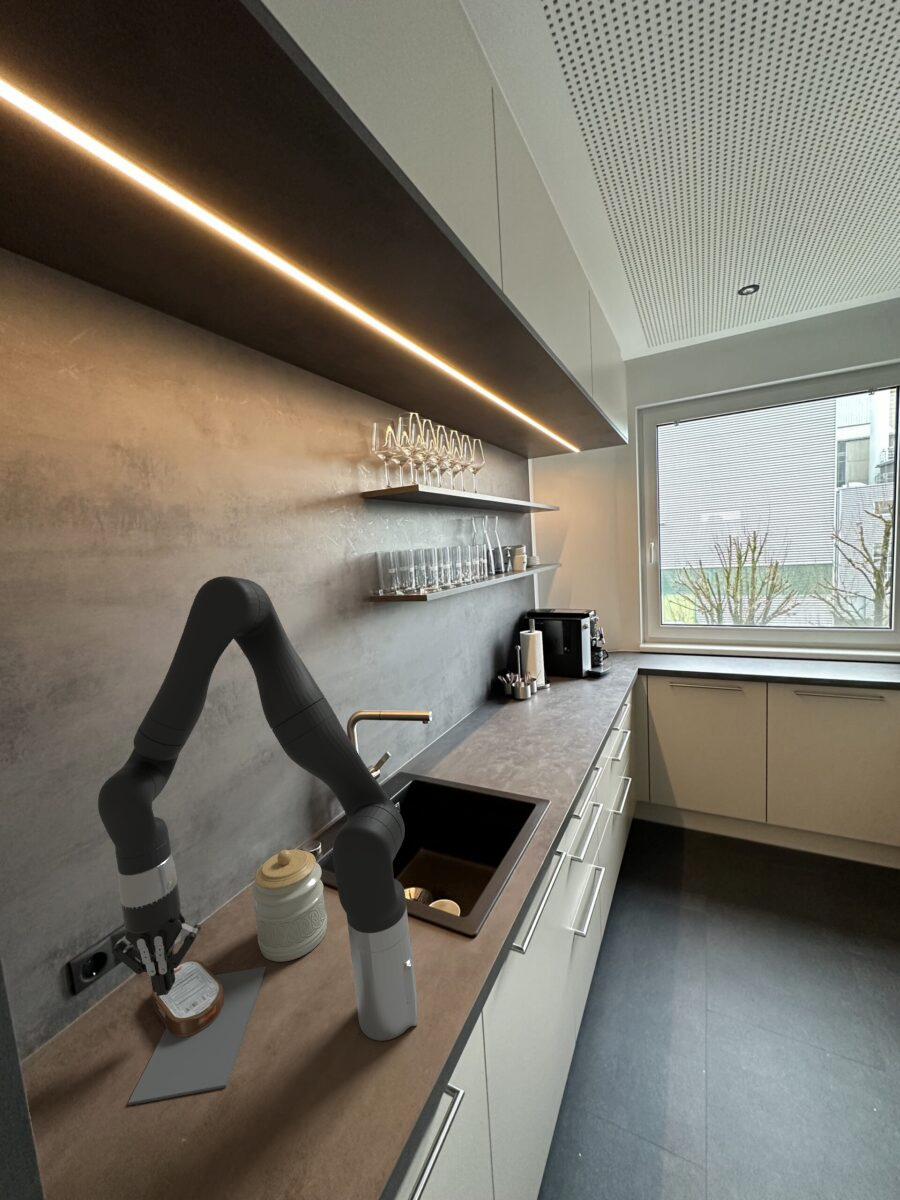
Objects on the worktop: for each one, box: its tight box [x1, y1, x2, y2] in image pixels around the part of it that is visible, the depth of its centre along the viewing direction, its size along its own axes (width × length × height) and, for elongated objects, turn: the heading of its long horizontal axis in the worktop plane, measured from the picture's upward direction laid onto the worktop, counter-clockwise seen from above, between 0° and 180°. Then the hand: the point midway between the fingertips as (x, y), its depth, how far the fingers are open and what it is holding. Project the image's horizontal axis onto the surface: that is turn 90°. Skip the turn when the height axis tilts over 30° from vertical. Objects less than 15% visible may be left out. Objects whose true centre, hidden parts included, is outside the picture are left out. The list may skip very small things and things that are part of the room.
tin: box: [151, 959, 225, 1037], centre depth 81 cm, size 15×3×8 cm
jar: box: [251, 849, 328, 962], centre depth 94 cm, size 13×13×18 cm
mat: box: [127, 966, 267, 1106], centre depth 77 cm, size 13×20×1 cm, turn 6°
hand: (164, 990), depth 77 cm, fingers closed
